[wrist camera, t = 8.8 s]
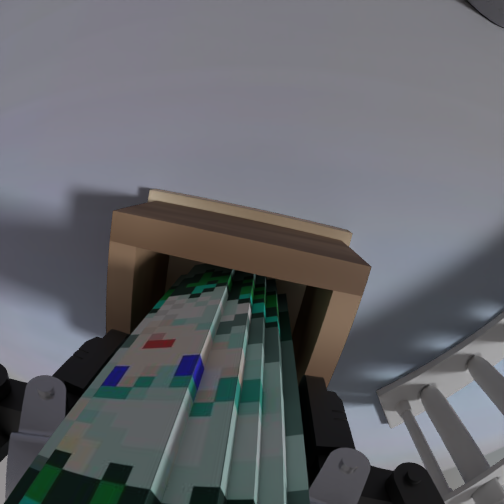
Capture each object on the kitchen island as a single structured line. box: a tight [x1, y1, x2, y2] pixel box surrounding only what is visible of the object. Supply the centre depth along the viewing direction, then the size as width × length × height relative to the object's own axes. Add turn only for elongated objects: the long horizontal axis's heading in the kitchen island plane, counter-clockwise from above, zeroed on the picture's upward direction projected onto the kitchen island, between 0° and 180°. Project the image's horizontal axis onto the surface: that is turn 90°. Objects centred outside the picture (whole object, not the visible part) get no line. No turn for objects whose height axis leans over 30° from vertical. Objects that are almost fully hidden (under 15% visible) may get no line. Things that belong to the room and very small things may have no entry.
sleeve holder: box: [106, 189, 371, 388], centre depth 15 cm, size 11×11×6 cm
